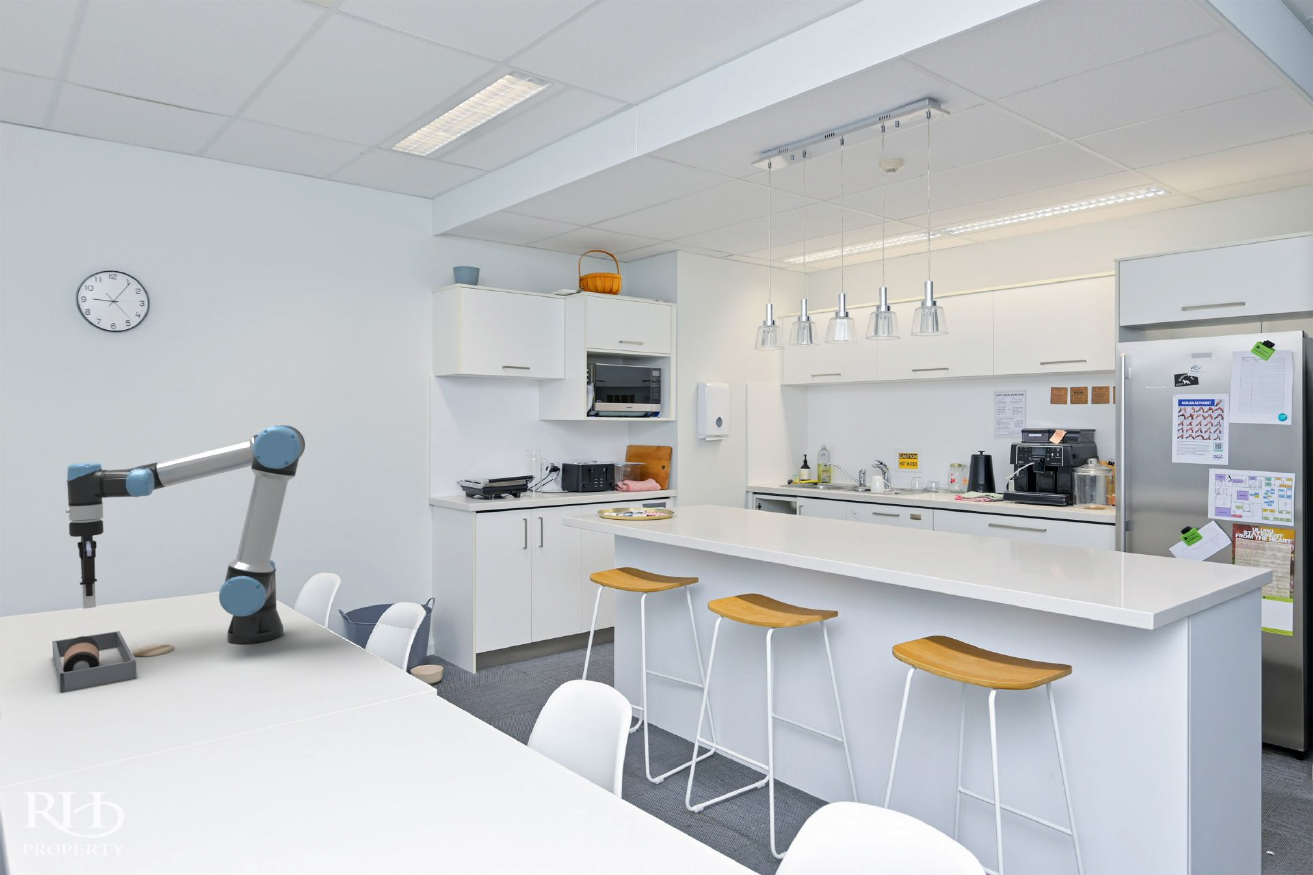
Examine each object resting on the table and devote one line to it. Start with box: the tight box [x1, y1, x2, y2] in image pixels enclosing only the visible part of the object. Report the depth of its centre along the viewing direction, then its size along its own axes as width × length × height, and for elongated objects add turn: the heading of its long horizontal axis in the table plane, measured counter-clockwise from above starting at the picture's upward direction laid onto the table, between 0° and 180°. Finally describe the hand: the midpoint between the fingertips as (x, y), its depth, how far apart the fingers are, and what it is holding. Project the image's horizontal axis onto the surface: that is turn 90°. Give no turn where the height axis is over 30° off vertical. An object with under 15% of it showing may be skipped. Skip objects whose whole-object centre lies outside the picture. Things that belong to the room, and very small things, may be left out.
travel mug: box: [62, 635, 100, 672], centre depth 211 cm, size 8×8×20 cm
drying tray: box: [51, 630, 137, 693], centre depth 216 cm, size 37×16×4 cm, turn 39°
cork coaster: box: [132, 644, 175, 658], centre depth 229 cm, size 10×10×1 cm
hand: (89, 607), depth 218 cm, fingers closed
